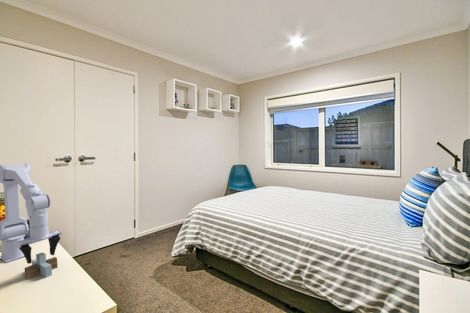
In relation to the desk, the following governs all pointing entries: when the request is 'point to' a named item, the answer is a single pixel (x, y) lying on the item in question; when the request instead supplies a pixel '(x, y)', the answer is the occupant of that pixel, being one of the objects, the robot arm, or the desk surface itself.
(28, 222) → the pill bottle
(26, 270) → the brown notched wooden bar
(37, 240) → the robot arm
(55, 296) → the desk surface
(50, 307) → the desk surface
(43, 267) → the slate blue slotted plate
